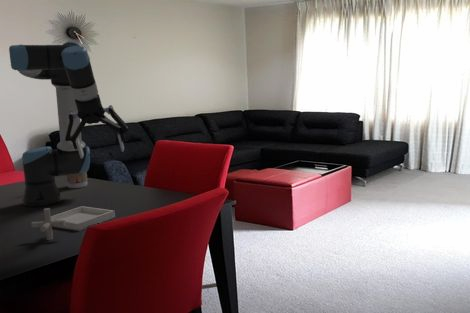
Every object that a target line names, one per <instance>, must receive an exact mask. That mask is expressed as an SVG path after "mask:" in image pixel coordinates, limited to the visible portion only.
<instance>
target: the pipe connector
mask: <svg viewBox="0 0 470 313" xmlns="http://www.w3.org/2000/svg"><path fill="white" fill-rule="evenodd" d="M43 215H44V221H43V220H42V221H31V228H40V229H39V230H40V232H42V233H44V232H45V233H46V241H47V240H48V241H51V240H54V233H53V226H65V220H57V221H56V218H55V217H52V218H51V216H52V215H51V208H50V207H48V208H47V207H46V208H43Z"/></svg>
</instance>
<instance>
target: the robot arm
mask: <svg viewBox="0 0 470 313" xmlns="http://www.w3.org/2000/svg"><path fill="white" fill-rule="evenodd" d="M8 53H9V60H10V66H11V69H12V70H13V71H17V72H19V74H20V75H22V76H24V77H28V78H31V79H34V80H42V81H43V80H46V81H47V80H50V83H51V85H52V86H53V87H54V88H55V94H56V96H55V97H56V104H57V105H56V107H57V118H58V130H59V140H60V141H59V142H58V143H57V145H56V149H53V148H52V147H51V146H40V147H36V148H32V149H29V150H26V151H24V152H23V153H22V157H21V159H22V163H21V165H22V166H23V175H24V176H23V178H24V184H25V188H24V193H23V195H22V205H23V206H24V207H29V208H30V207H31V208H32V207H36V208H37V207H45V206H50V205H53V204H58V203H60V202H61V201H62V195H61V193H60V191H59V188H58V186H57V184H56V180H55V179H56V177H63V176H64V177H65V176H66V175H74V174H81V173H86V172H88V171H89V169H90V164H91V155H90V154H91V151H90V150H91V149H90V147H89V146H87V144H86V143H85V142H84V141H83V140H82V130H83V129H84V127H85V126H86V124H88V125H93V124H99V123H102V124H104V125H106V126H107V127H109V128H110V129H112V130H113V131H115V132H116V133H117V139H118V142H119V146H120V150H121V152H123V153H124V151H125V145H124V142H126V136H125V133H126V132H127V133H128V131H129V125H128V124H127V123H126V122H125V121H124V120H123V119H122V117H120V116H119V114H118V113H117V112H116V111H115V110H114V107H113V105H109V106H108V107H103V105H102V101H101V98H100V94H99V90H98V86H97V82H96V79H95V76H94V71H93V67H92V63H91V56H90V55H89V53H88V50H87V48H86V47H85V46H82V45H81V44H79V43H78V42H75V41H69V40H68V41H66V42H64V43H63V44H15V45H14V44H13V45H9V48H8ZM105 113H107V114H108V115H110V116H111V118H112V119H113V120H114V121H113V120H111V119H110V118H108V117H107V115H105Z"/></svg>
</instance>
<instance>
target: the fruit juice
mask: <svg viewBox="0 0 470 313" xmlns="http://www.w3.org/2000/svg"><path fill="white" fill-rule="evenodd" d="M87 172H88V171H87ZM87 172H86V173H81V174H74V175H65V176H66V184H67V188H68V189H79V188H84V187H87V186H88V174H87Z"/></svg>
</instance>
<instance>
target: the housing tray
mask: <svg viewBox="0 0 470 313" xmlns="http://www.w3.org/2000/svg"><path fill="white" fill-rule="evenodd" d="M52 217H55V218H56V221H57V220H65V226H52V228H53V227H54V228H59V229H65V230H71V231H76V232H80V231H82V230H86V229H88V228H89V227H88V226H90V225H93V224H96V225H98V224H97V223H99V224H101V223H104V222H107V221H109V220H111V219H114V218H116V213H115V210H112V209H107V208H105V209H104V208H100V207H99V208H97V207H91V206H85V205H84V206H83V205H81V206H78V207H75V208H72V209H69V210H66V211H63V212H60V213H57V214H54V215H51V218H52ZM93 226H94V225H93ZM87 227H88V228H87Z"/></svg>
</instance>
